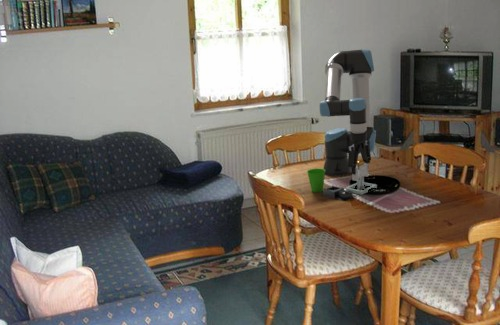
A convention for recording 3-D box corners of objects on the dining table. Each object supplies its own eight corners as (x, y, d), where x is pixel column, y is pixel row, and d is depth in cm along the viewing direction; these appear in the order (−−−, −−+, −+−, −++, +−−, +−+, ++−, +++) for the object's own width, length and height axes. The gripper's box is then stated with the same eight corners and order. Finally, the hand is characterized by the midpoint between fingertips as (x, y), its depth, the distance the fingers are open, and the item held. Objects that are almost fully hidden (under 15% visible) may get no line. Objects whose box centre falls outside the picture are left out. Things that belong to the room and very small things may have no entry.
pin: (360, 188, 288) (359, 159, 284) (366, 189, 285) (365, 161, 281) (355, 190, 285) (354, 161, 282) (361, 191, 282) (360, 162, 279)
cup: (326, 195, 284) (324, 173, 281) (307, 195, 286) (305, 173, 283) (327, 189, 293) (326, 168, 290) (309, 189, 295) (307, 168, 292)
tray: (360, 186, 293) (359, 181, 292) (376, 189, 286) (376, 184, 285) (344, 192, 285) (344, 188, 285) (361, 196, 278) (361, 191, 277)
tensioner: (332, 192, 288) (332, 182, 286) (357, 197, 277) (357, 187, 275) (320, 197, 282) (319, 187, 281) (345, 203, 271) (344, 193, 270)
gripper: (365, 126, 287) (366, 171, 293) (338, 135, 274) (340, 182, 280) (377, 127, 281) (379, 174, 287) (351, 136, 269) (353, 185, 275)
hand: (360, 178), depth 284 cm, fingers open, 7 cm apart
